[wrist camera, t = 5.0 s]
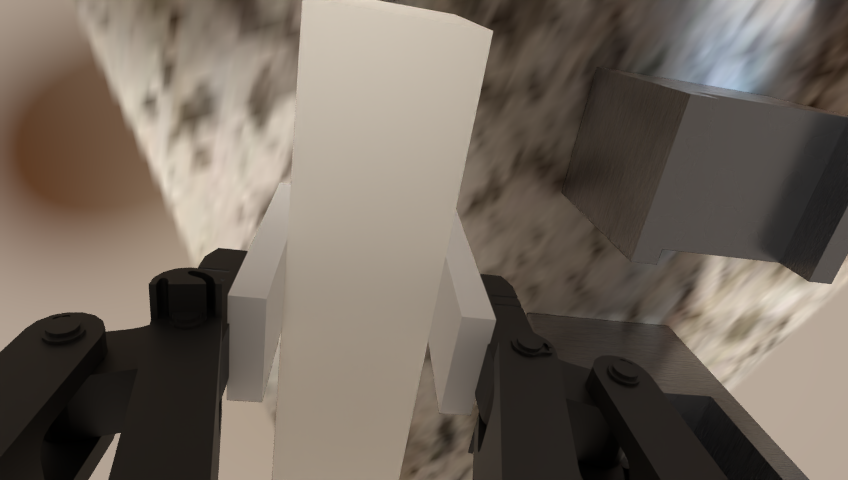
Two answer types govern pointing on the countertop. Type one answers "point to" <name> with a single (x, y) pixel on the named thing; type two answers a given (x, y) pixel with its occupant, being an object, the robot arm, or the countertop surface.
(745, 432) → the cup bracket
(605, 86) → the grey channel block
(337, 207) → the cream rectangular block
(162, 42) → the countertop surface
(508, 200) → the countertop surface
